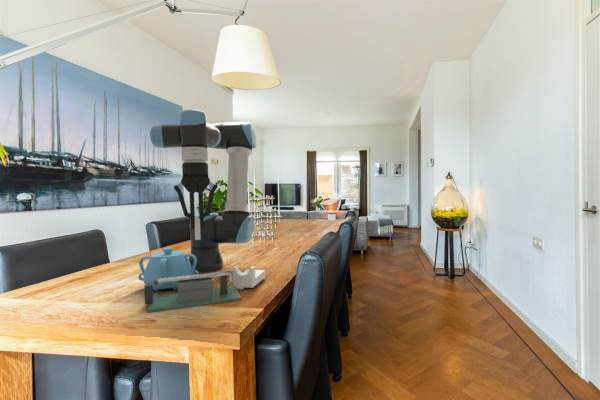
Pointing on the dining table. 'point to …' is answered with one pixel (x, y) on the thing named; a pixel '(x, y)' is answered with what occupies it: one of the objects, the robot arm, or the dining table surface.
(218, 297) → the heatsink board
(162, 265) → the decorative pot
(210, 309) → the dining table surface
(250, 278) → the bracket
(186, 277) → the strap
